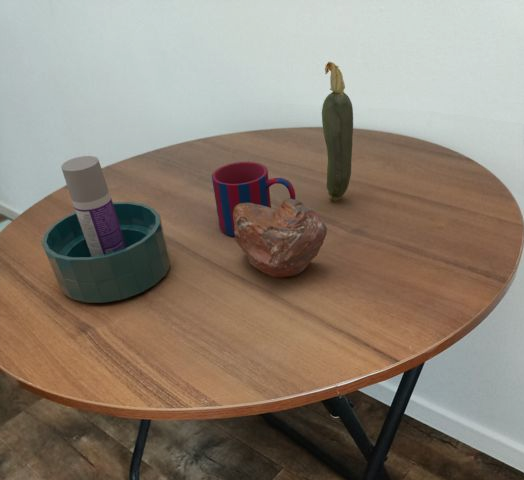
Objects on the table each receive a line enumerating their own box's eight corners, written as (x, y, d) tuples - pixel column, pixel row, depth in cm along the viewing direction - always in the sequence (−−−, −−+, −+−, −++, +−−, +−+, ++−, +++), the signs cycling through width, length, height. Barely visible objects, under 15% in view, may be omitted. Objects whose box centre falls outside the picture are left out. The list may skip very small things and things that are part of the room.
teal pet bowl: (41, 280, 73) (21, 235, 68) (129, 235, 80) (117, 192, 76) (99, 321, 64) (81, 273, 60) (193, 266, 72) (183, 220, 67)
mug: (235, 209, 84) (228, 159, 78) (304, 219, 79) (302, 166, 74) (210, 233, 78) (201, 181, 73) (283, 245, 74) (279, 191, 69)
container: (131, 258, 74) (100, 153, 64) (131, 275, 70) (98, 167, 60) (98, 263, 74) (62, 158, 64) (96, 281, 70) (57, 173, 60)
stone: (330, 264, 69) (330, 193, 63) (308, 300, 64) (305, 227, 57) (245, 251, 74) (236, 183, 67) (217, 283, 68) (205, 213, 62)
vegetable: (356, 200, 82) (361, 59, 69) (339, 210, 80) (341, 67, 67) (334, 193, 85) (334, 56, 72) (317, 203, 83) (314, 64, 69)
